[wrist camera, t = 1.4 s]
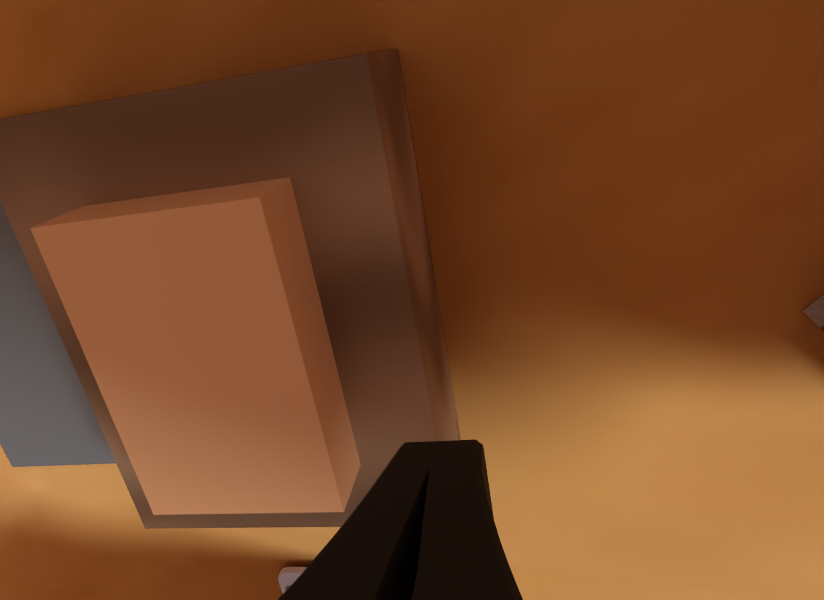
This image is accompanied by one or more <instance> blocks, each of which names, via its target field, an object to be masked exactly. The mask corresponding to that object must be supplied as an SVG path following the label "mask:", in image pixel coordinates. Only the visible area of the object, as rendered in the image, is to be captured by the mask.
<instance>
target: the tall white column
mask: <svg viewBox="0 0 824 600" xmlns="http://www.w3.org/2000/svg"><path fill="white" fill-rule="evenodd" d="M803 312H804V313H805V314H806V315H807V316H808V317H809V318H810V319H811V320H812V321H813V322H814V323H815V324H816V325H817V326H818V327H819V328H820V329H822V330H823V331H824V295H822V296H821V297H820V298H818V299H817V300H816V301H815V302H813V303H812V304H811V305H809V306H808V307H807V308H805V309H804V310H803Z"/></svg>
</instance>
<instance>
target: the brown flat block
mask: <svg viewBox="0 0 824 600" xmlns="http://www.w3.org/2000/svg"><path fill="white" fill-rule="evenodd" d="M288 177H290V179H291V183H292V187H293V191H294V195H295V199H296V203H297V207H298V212H299V216H300V220H301V224H302V228H303V232H304V236H305V240H306V244H307V248H308V252H309V256H310V260H311V265H312V269H313V273H314V277H315V281H316V285H317V289H318V293H319V297H320V301H321V305H322V309H323V314H324V318H325V322H326V326H327V330H328V334H329V338H330V342H331V346H332V350H333V354H334V358H335V362H336V367H337V371H338V375H339V379H340V383H341V387H342V391H343V395H344V399H345V403H346V407H347V411H348V416H349V420H350V424H351V428H352V432H353V436H354V440H355V444H356V448H357V452H358V456H359V460H360V464H361V465H360V468H359V471H358V474H357V476H356V479H355V482H354V485H353V488H352V491H351V494H350V496H349V499H348V502H347V505H346V508H345V511H344V512H314V513H246V514H178V515H153V512H152V510H151V508H150V505H149V503H148V501H147V498H146V496H145V494H144V491H143V489H142V487H141V484H140V482H139V480H138V477H137V475H136V473H135V470H134V468H133V466H132V463H131V461H130V459H129V457H128V454H127V452H126V450H125V447H124V445H123V443H122V440H121V438H120V436H119V433H118V431H117V429H116V426H115V424H114V422H113V419H112V417H111V415H110V412H109V410H108V408H107V405H106V403H105V401H104V398H103V396H102V394H101V392H100V389H99V387H98V385H97V382H96V380H95V378H94V375H93V373H92V371H91V368H90V366H89V364H88V361H87V359H86V357H85V354H84V352H83V350H82V347H81V345H80V343H79V340H78V338H77V336H76V333H75V331H74V329H73V327H72V324H71V322H70V320H69V317H68V315H67V313H66V310H65V308H64V306H63V303H62V301H61V299H60V296H59V294H58V292H57V289H56V287H55V285H54V282H53V280H52V278H51V275H50V273H49V271H48V268H47V266H46V264H45V262H44V259H43V257H42V255H41V252H40V250H39V248H38V245H37V243H36V241H35V238H34V236H33V234H32V231H31V229H30V228H32V227H34V226H36V225H39V224H41V223H44V222H46V221H49V220H51V219H54V218H56V217H58V216H61V215H63V214H66V213H68V212H71V211H73V210H76V209H78V208H80V207H83V206H88V205H95V204H102V203H109V202H116V201H124V200H131V199H138V198H145V197H152V196H159V195H167V194H174V193H181V192H188V191H195V190H202V189H210V188H217V187H224V186H231V185H238V184H245V183H252V182H260V181H267V180H274V179H281V178H288ZM0 201H1V204H2V206H3V208H4V210H5V213H6V215H7V217H8V219H9V222H10V224H11V226H12V228H13V231H14V233H15V235H16V238H17V240H18V242H19V244H20V247H21V249H22V251H23V253H24V256H25V258H26V260H27V262H28V265H29V267H30V269H31V271H32V274H33V276H34V278H35V280H36V283H37V285H38V287H39V289H40V292H41V294H42V296H43V298H44V301H45V303H46V305H47V308H48V310H49V312H50V314H51V317H52V319H53V321H54V323H55V326H56V328H57V330H58V332H59V335H60V337H61V339H62V341H63V344H64V346H65V348H66V350H67V353H68V355H69V357H70V359H71V362H72V364H73V366H74V368H75V371H76V373H77V375H78V378H79V380H80V382H81V384H82V387H83V389H84V391H85V393H86V396H87V398H88V400H89V402H90V405H91V407H92V409H93V411H94V414H95V416H96V418H97V420H98V423H99V425H100V427H101V429H102V432H103V434H104V436H105V438H106V441H107V443H108V445H109V448H110V450H111V452H112V454H113V457H114V459H115V461H116V463H117V466H118V468H119V470H120V472H121V475H122V477H123V479H124V481H125V484H126V486H127V488H128V490H129V493H130V495H131V497H132V499H133V502H134V504H135V506H136V508H137V511H138V513H139V515H140V518H141V520H142V522H143V524H144V527H145V528H247V527H341V526H342V525H343V524H344V523H345V521H346V520H347V519H348V517H349V516H350V515H351V514H352V512H353V511H354V510H355V508H356V507H357V506H358V505H359V503H360V502H361V501H362V499H363V498H364V497H365V495H366V494H367V493H368V491H369V490H370V488H371V487H372V486H373V484H374V483H375V482H376V480H377V479H378V478H379V476H380V475H381V473H382V472H383V471H384V469H385V468H386V466H387V465H388V463H389V462H390V461H391V459H392V458H393V456H394V455H395V454H396V452H397V451H398V449H399V448H400V447H401V446H402V445H403V444H404V443H405V442H428V441H454V440H460V434H459V428H458V422H457V416H456V409H455V403H454V397H453V391H452V384H451V378H450V372H449V366H448V360H447V353H446V347H445V341H444V335H443V328H442V322H441V316H440V310H439V304H438V297H437V291H436V285H435V279H434V273H433V266H432V260H431V254H430V248H429V241H428V235H427V229H426V223H425V217H424V210H423V204H422V198H421V192H420V185H419V179H418V173H417V167H416V161H415V154H414V148H413V142H412V136H411V129H410V123H409V117H408V111H407V105H406V98H405V92H404V86H403V80H402V73H401V67H400V61H399V55H398V49H392V50H385V51H379V52H372V53H366V54H361V55H355V56H349V57H344V58H338V59H333V60H327V61H322V62H316V63H311V64H305V65H300V66H294V67H289V68H283V69H277V70H272V71H266V72H261V73H255V74H250V75H244V76H239V77H233V78H228V79H222V80H217V81H211V82H206V83H200V84H194V85H189V86H183V87H178V88H172V89H167V90H161V91H156V92H150V93H145V94H139V95H134V96H128V97H122V98H117V99H111V100H106V101H100V102H95V103H89V104H84V105H78V106H73V107H67V108H62V109H56V110H50V111H45V112H39V113H34V114H28V115H23V116H17V117H12V118H6V119H1V120H0Z"/></svg>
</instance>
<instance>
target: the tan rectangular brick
mask: <svg viewBox="0 0 824 600" xmlns="http://www.w3.org/2000/svg"><path fill="white" fill-rule="evenodd" d="M30 229H31V231H32V234H33V236H34V238H35V241H36V243H37V245H38V248H39V250H40V252H41V255H42V257H43V259H44V262H45V264H46V266H47V268H48V271H49V273H50V275H51V278H52V280H53V282H54V285H55V287H56V289H57V292H58V294H59V296H60V299H61V301H62V303H63V306H64V308H65V310H66V313H67V315H68V317H69V320H70V322H71V324H72V327H73V329H74V331H75V333H76V336H77V338H78V340H79V343H80V345H81V347H82V350H83V352H84V354H85V357H86V359H87V361H88V364H89V366H90V368H91V371H92V373H93V375H94V378H95V380H96V382H97V385H98V387H99V389H100V392H101V394H102V396H103V398H104V401H105V403H106V405H107V408H108V410H109V412H110V415H111V417H112V419H113V422H114V424H115V426H116V429H117V431H118V433H119V436H120V438H121V440H122V443H123V445H124V447H125V450H126V452H127V454H128V457H129V459H130V461H131V463H132V466H133V468H134V470H135V473H136V475H137V477H138V480H139V482H140V484H141V487H142V489H143V491H144V494H145V496H146V498H147V501H148V503H149V505H150V508H151V510H152V512H153V515H178V514H246V513H314V512H344V511H345V508H346V505H347V502H348V499H349V496H350V494H351V491H352V488H353V485H354V482H355V479H356V476H357V474H358V471H359V468H360V465H361V464H360V460H359V456H358V452H357V448H356V444H355V440H354V436H353V432H352V428H351V424H350V420H349V416H348V411H347V407H346V403H345V399H344V395H343V391H342V387H341V383H340V379H339V375H338V371H337V367H336V362H335V358H334V354H333V350H332V346H331V342H330V338H329V334H328V330H327V326H326V322H325V318H324V314H323V309H322V305H321V301H320V297H319V293H318V289H317V285H316V281H315V277H314V273H313V269H312V265H311V260H310V256H309V252H308V248H307V244H306V240H305V236H304V232H303V228H302V224H301V220H300V216H299V212H298V207H297V203H296V199H295V195H294V191H293V187H292V183H291V179H290V177H288V178H281V179H274V180H267V181H260V182H252V183H245V184H238V185H231V186H224V187H217V188H210V189H202V190H195V191H188V192H181V193H174V194H167V195H159V196H152V197H145V198H138V199H131V200H124V201H116V202H109V203H102V204H95V205H88V206H83V207H80V208H78V209H76V210H73V211H71V212H68V213H66V214H63V215H61V216H58V217H56V218H54V219H51V220H49V221H46V222H44V223H41V224H39V225H36V226H34V227H32V228H30Z"/></svg>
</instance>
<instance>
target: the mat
mask: <svg viewBox="0 0 824 600" xmlns="http://www.w3.org/2000/svg"><path fill="white" fill-rule="evenodd" d="M0 444H1V446H2V448H3V450H4V452H5V454H6V455H7V457H8V459H9V461H10V463H11V465H12V467H25V466H53V465H81V464H109V463H116V461H115V459H114V457H113V454H112V452H111V450H110V448H109V445H108V443H107V441H106V438H105V436H104V434H103V432H102V429H101V427H100V425H99V423H98V420H97V418H96V416H95V414H94V411H93V409H92V407H91V405H90V402H89V400H88V398H87V396H86V393H85V391H84V389H83V387H82V384H81V382H80V380H79V378H78V375H77V373H76V371H75V368H74V366H73V364H72V362H71V359H70V357H69V355H68V353H67V350H66V348H65V346H64V344H63V341H62V339H61V337H60V335H59V332H58V330H57V328H56V326H55V323H54V321H53V319H52V317H51V314H50V312H49V310H48V308H47V305H46V303H45V301H44V298H43V296H42V294H41V292H40V289H39V287H38V285H37V283H36V280H35V278H34V276H33V274H32V271H31V269H30V267H29V265H28V262H27V260H26V258H25V256H24V253H23V251H22V249H21V247H20V244H19V242H18V240H17V238H16V235H15V233H14V231H13V228H12V226H11V224H10V222H9V219H8V217H7V215H6V213H5V210H4V208H3V206H2V204H1V201H0Z"/></svg>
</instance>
